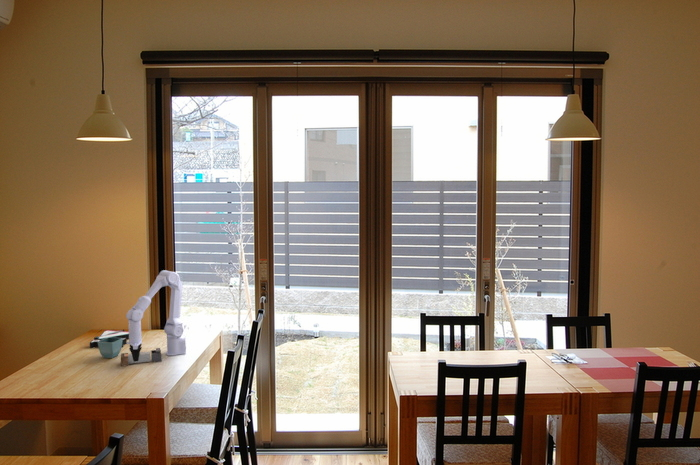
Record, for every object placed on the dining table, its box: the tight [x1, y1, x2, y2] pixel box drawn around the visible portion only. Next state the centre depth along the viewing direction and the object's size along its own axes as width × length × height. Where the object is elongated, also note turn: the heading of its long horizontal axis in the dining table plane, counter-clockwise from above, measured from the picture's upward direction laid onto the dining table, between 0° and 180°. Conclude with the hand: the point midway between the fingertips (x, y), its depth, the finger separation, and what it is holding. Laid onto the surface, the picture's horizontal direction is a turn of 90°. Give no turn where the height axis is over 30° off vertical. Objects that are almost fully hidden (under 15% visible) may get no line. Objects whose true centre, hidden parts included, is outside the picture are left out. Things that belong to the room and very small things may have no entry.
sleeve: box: [150, 347, 162, 363], centre depth 268 cm, size 4×6×5 cm
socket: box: [120, 352, 129, 367], centre depth 262 cm, size 3×7×4 cm, turn 22°
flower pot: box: [97, 337, 123, 359], centre depth 274 cm, size 9×9×9 cm
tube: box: [124, 351, 151, 365], centre depth 264 cm, size 12×4×4 cm, turn 112°
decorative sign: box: [89, 329, 129, 349], centre depth 302 cm, size 18×4×30 cm
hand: (136, 359), depth 264 cm, fingers closed on tube, 4 cm apart
